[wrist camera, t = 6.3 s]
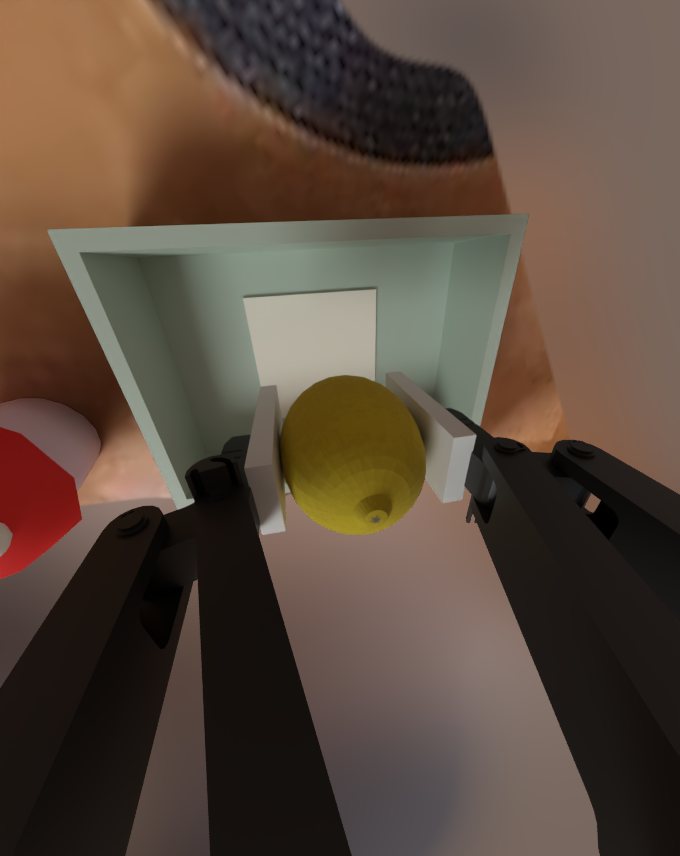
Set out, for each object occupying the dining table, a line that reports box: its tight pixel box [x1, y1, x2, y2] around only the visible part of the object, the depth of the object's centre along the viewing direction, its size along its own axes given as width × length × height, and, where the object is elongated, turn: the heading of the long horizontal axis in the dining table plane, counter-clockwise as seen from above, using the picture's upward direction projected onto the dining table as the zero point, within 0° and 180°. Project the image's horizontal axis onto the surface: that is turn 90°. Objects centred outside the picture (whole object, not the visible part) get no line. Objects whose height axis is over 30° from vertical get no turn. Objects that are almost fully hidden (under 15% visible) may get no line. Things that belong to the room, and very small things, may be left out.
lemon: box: [279, 375, 426, 535], centre depth 11 cm, size 6×6×8 cm
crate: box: [47, 214, 529, 510], centre depth 19 cm, size 16×22×6 cm
